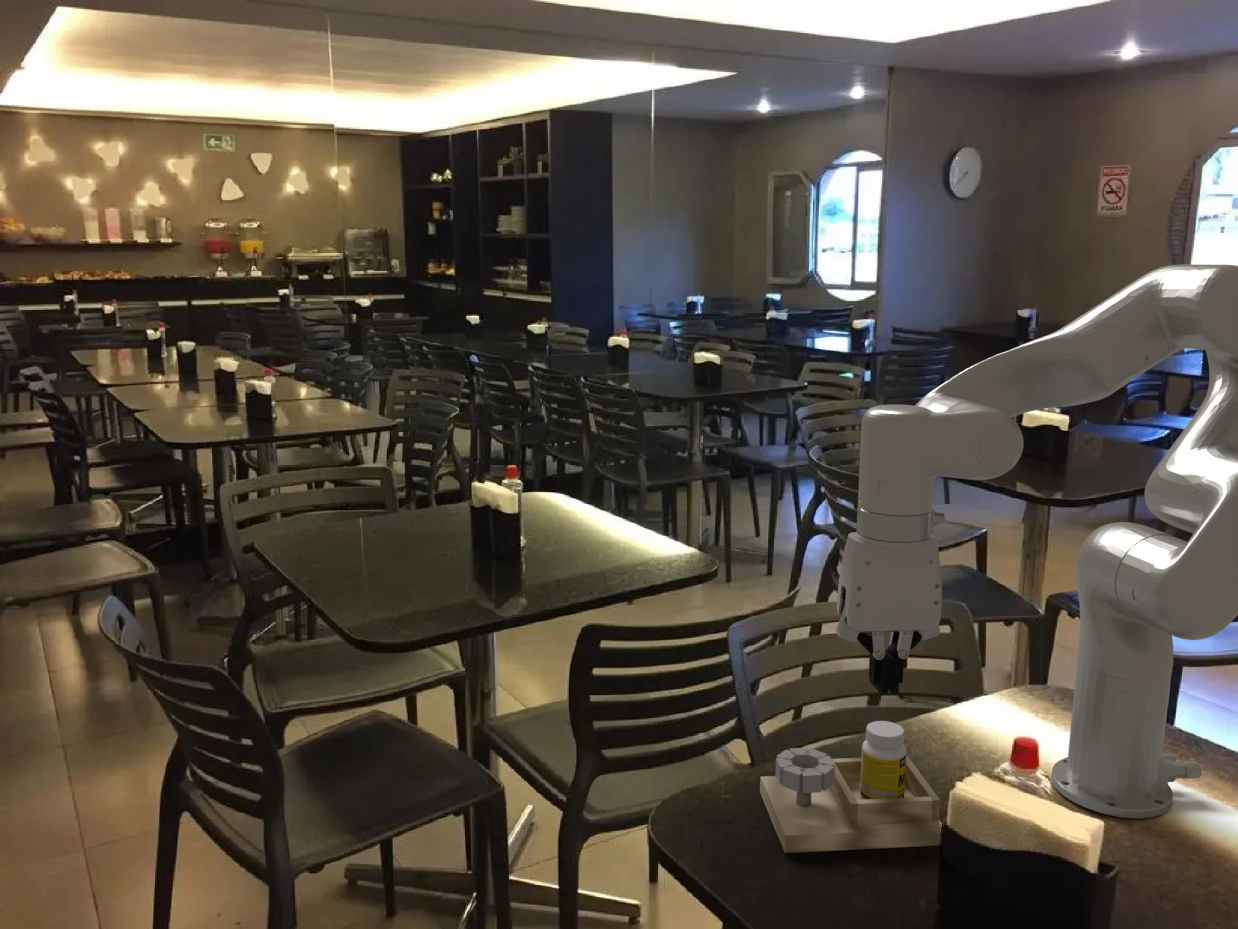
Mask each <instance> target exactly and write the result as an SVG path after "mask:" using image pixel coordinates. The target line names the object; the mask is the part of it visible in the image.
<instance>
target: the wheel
mask: <svg viewBox="0 0 1238 929" xmlns="http://www.w3.org/2000/svg"><path fill="white" fill-rule="evenodd" d="M832 759H833V758H832V757H831V756H830V755H828V753H826V752H823V751H820V750H817V749H814V748H809V749H808V747H797V748H796V747H793V748H789V749H785V750H783V751H781V753H779V754H777V755H776V758H775V775H774V776H776V777H777V779H778V782H779V784H782V786H783V787H786V788H788V789H791V790H793V791H796V792H800V791H802V793H816V792H821V790H823V791H825V790H827V789H828V788H829V787H830V786H832V785H833V784H834V775H835V764H834V762H833V761H832Z"/></svg>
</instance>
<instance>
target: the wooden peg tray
mask: <svg viewBox="0 0 1238 929" xmlns="http://www.w3.org/2000/svg"><path fill="white" fill-rule="evenodd" d="M861 758H862V757H848V758H847V757H845V758H831V759H832V761H833V762H834V764H835V775H834V784H833V785H832V786H830V787H829V788H828V789H827V790H825V791H823V790H821V792H816V793H802V791H800V792H796V791H793V790H791V789H788V788H786V787H783V786H782V784H779V782H778V779H777V777H776V775H770V776H769V775H767V776H766V775H765V776H760V782H759V783H760V785H759V794H760V796H761V798H762V801H763V804H764V805H765V808H766V810H767V813H768V815H769V817H770V818H769V819H770V821H771V823H772V825H773V828H774V830H775V832H776V835H777V837H778V839H779V842H780V844H781V847H782V849H783V850H782V851H783V852H784V854H789V853H791V854H792V853H809V852H810V853H811V852H831V851H849V850H850V851H853V850H869V849H870V850H871V849H872V850H873V849H891V848H893V849H894V848H910V847H911V848H912V847H931V846H932V847H933V846H934V847H935V846H940V845H939V841H940V833H941V827H942V824H943V823H942V822H941V820H940V810H941V809H940V808H941V807H940V806H941V799H940V798H939V797H938V795H937V794H936V792H935V791H934V790H933V788H932V787H931V786H930V784H929V783H928V782H927V780H926V779H925V777H924V776H923V775H922V773H921V772H920V770H919V769H918V768H917V767H916V765H915V764H914V763H913V762H912V760H911V759H910V756H908V755H906V770H905V787H904V798H886V799H864V800H862V799H861V797H860V780H861Z"/></svg>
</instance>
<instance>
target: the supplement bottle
mask: <svg viewBox="0 0 1238 929" xmlns="http://www.w3.org/2000/svg"><path fill="white" fill-rule="evenodd" d="M865 730H866V731H865V740H864V741H863V743H862V746H861V757H860V758H861V780H860V797H861V799H862V800H864V799H886V798H904V787H905V770H906V756H907V749H906V746H905V745H904V742H905V730H904V728H903V726H901V725H900V724H897V723H895V722H892V721H888V720H875V721H872V722H870V723H868V724H867V725H866V728H865Z"/></svg>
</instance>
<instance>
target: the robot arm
mask: <svg viewBox="0 0 1238 929" xmlns="http://www.w3.org/2000/svg"><path fill="white" fill-rule="evenodd" d="M1184 349H1191V350H1192V349H1193V350H1200V351H1201V350H1202V351H1205V352H1206V353H1205V354H1206V357H1207V362H1208V369H1209V370H1208V371H1209V372H1208V374H1209V380H1208V388H1207V392H1206V395H1205V397H1204V400H1203V401H1202V403H1201V405H1200V406H1199V407H1198V409H1197V411H1196V412H1195V414H1194V415H1193V417H1192V418H1191V420H1190V421H1189V423H1188V424H1187V425H1186V426H1185V427H1184V429H1183V430H1182V432H1181V433H1180V434H1179V436H1178V437H1177V438H1176V440H1175V441H1174V442H1173V444H1172V445H1171V446H1170V448H1169V449H1168V450H1167V452H1166V454H1164V456H1163V458H1162V459H1161V460H1160V461H1159V463H1158V464H1157V466H1156V467H1155V468H1154V470H1153V471H1152V473H1151V474H1150V476H1149V478H1148V479H1147V482H1146V486H1145V489H1144V502H1145V504H1146V506H1147V509H1149V511H1150V512H1151V513H1152V514H1153V515H1154V516H1155V517H1157V519H1159V520H1160V521H1163V522H1164V523H1166V524H1168V525H1170V526H1172V527H1175V528H1177V529H1180V530H1182V531H1185V532H1188V533H1191V534H1192V535H1191V537H1190V538H1189V540H1188V541H1186V540H1184V539H1181V538H1179V537H1176V536H1174V535H1171V534H1168V533H1166V532H1163V531H1160V530H1159V529H1158V530H1157V529H1155V528H1153V527H1149V526H1147V525H1144V524H1140V523H1136V522H1129V521H1127V522H1126V521H1116V522H1109V523H1107V524H1104V525H1101V526H1099V527H1098V528H1096V529H1094V530H1093V531H1092V532H1091V533H1089V534H1088V536H1087V537H1086V538H1085V539H1084V541H1083V542H1082V544H1081V546H1080V547H1079V548H1080V549H1079V552H1078V554H1077V560H1076V584H1077V593H1078V600H1079V602H1078V603H1079V637H1078V649H1077V657H1076V658H1077V659H1076V668H1075V677H1074V678H1075V680H1074V689H1073V690H1074V691H1073V700H1072V709H1071V710H1072V711H1071V722H1070V733H1069V743H1068V752H1067V754H1068V755H1067V757H1064V758H1062V759H1060V760H1058V761H1056V762H1055V763H1054V764H1053V766H1052V769H1051V776H1050V777H1051V782H1052V783H1053V786H1054V787H1055V789H1057V791H1058V792H1059V793H1060V794H1061V795H1062V796H1064V797H1065V798H1066V799H1067V800H1069V801H1071V802H1073V803H1074V804H1076V805H1078V806H1081V807H1082V808H1085V809H1088V810H1090V811H1093V812H1096V813H1099V814H1102V815H1103V814H1104V815H1107V816H1112V817H1117V818H1124V819H1148V818H1154V817H1159V816H1161V815H1163V814H1165V813H1167V812H1168V811H1169V810H1170V809H1171V808H1172V805H1173V802H1174V801H1173V800H1174V799H1173V798H1174V792H1173V790H1172V788H1171V786H1170V785H1169V783H1174V782H1175V781H1176V779H1182V780H1183V779H1184V780H1185V779H1187V780H1188V779H1200V778H1201V776H1202V768H1201V765H1200V763H1198V762H1197V760H1196V761H1195V760H1185V761H1184V760H1182V761H1180V760H1179V761H1177V757H1176V756H1175V754H1174V753H1172V752H1169V753H1168V752H1167V753H1166V752H1165V753H1163V750H1164V749H1163V748H1164V741H1165V732H1166V724H1167V714H1168V706H1169V705H1168V704H1169V698H1170V687H1171V680H1172V673H1173V667H1174V666H1173V664H1174V640H1173V637H1175V638H1179V639H1182V640H1186V641H1201V640H1204V639H1208V638H1211V637H1212V636H1215V635H1217V634H1218V633H1220V632H1222V631H1223V630H1224V629H1225V628H1226V627H1228V626H1229V625H1230V624H1231V623H1232V622H1233V620H1235V618H1237V616H1238V265H1234V264H1189V263H1188V264H1187V263H1186V264H1184V263H1183V264H1170V265H1165V266H1160V267H1158V268H1156V269H1152V270H1151V271H1149V272H1147V273H1146V274H1144V275H1142V276H1141V277H1140V276H1139V278H1137V279H1136V280H1134V281H1132V282H1131V283H1129V284H1128V285H1126V286H1125V287H1123V288H1122V289H1120V290H1119V291H1117V292H1116V293H1114V294H1112V295H1111V296H1109V297H1108V298H1107V299H1105V300H1103V301H1102V302H1100V303H1099V304H1097V305H1095V306H1094V307H1092V308H1091V309H1089V310H1088V311H1087V312H1085V313H1084V314H1082V315H1080V316H1078V317H1076V319H1073V321H1071V322H1069V323H1068V324H1065V325H1064V326H1063V327H1061V328H1060V329H1058V330H1056V331H1054V332H1052V333H1049V334H1047V335H1044V336H1041V337H1039V338H1035V339H1033V340H1031V341H1028V342H1025V343H1024V344H1021V345H1019V346H1015V347H1013V348H1012V349H1009V350H1006V351H1004V352H1000V353H997V354H995V355H993V356H990V357H988V358H986V359H984V360H981V361H980V362H977V363H975V364H973V365H972V366H969V367H967V368H965V369H964V370H962V371H960V372H958V373H957V374H955V375H954V376H952V377H951V378H949V379H948V380H946V381H945V382H943V383H942V384H940V385H939V386H937V387H936V388H934V389H932V390H931V391H930V392H928V393H927V394H925V395H924V396H923V397H922V398H921V399H920V400H918V402H916V404H915V405H911V404H910V405H909V404H881V405H880V404H879V405H875V406H872V407H869V409H867V410H866V411H865V413H863V416H862V419H861V428H860V446H859V447H860V448H859V472H858V473H859V474H858V494H857V495H858V496H857V513H856V532H855V531H854V532H850V533H848V535H847V538H846V542H845V546H844V549H843V555H842V560H841V565H840V571H839V572H840V573H839V579H838V587H837V596H836V597H837V598H836V613H837V616H838V617H840V618H839V621H838V624H837V627H836V630H835V633H836V634H837V636H838V637H839V639H840V640H843V641H848V642H850V643H851V642H852V643H854V644H855V643H858V644H860V645H861V646H862V647H863V648H864V649H865V650H866V651H867V652H868V653H869V657H868V658H869V659H868V660H869V661H868V663H869V664H868V681H869V683H870V684H871V685H872V686H873V687H874V689H876V691H878V693H879V695H880V696H885V695H887V694H888V693H890V694H892V695H899V692H900V684H902V683H903V681H904V669H905V668H904V667H905V659H907V658H908V657H909V656H910V652H911V651H912V650H913V649H914V648H915V647H916V646H917V645H918V644H920V642H922V641H926V640H929V639H933V638H935V637H938V636H939V635H940V634H941V628H940V624H939V623H940V621H941V615H942V596H943V595H942V591H943V590H942V587H943V586H942V570H941V562H940V561H941V560H940V554H939V546H938V545H939V544H938V541H937V538H936V537H935V536H934V528H935V527H937V526H944V525H945V522H946V516H945V513H944V512H937V511H936V510H935V509H934V492H935V478H937V477H944V478H954V479H963V480H964V479H965V480H972V481H985V480H991V479H995V478H997V477H1000V476H1002V475H1005V474H1006V473H1008V472H1009V471H1011V470H1012V469H1013V468H1014V467H1015V465H1017V463H1018V462H1019V461H1020V458H1021V457H1022V453H1023V451H1024V450H1023V449H1024V437H1023V434H1022V430H1021V428H1020V427H1019V425H1018V423H1017V422H1016V421H1015V420H1014V419H1013V418H1014V417H1016V416H1019V415H1022V414H1026V413H1030V412H1033V411H1038V410H1044V409H1052V408H1054V409H1055V408H1064V407H1073V406H1080V405H1084V404H1088V403H1092V402H1096V401H1097V402H1098V401H1101V400H1102V399H1105V398H1107V397H1109V396H1111V395H1113V394H1114V393H1116V392H1117V391H1118V390H1120V389H1121V388H1123V387H1124V386H1126V385H1127V384H1129V383H1130V382H1132V381H1134V380H1135V379H1137V378H1138V377H1139V376H1141V375H1142V374H1144V373H1146V372H1147V371H1149V370H1150V369H1153V367H1156V366H1157V365H1158V364H1160V363H1161V362H1164V360H1166V359H1168V358H1169V357H1171V356H1172V355H1174V354H1176V353H1177V352H1179V351H1181V350H1184ZM884 633H890V638H889V643H888V644H889V645H888V648H885V635H884Z"/></svg>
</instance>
